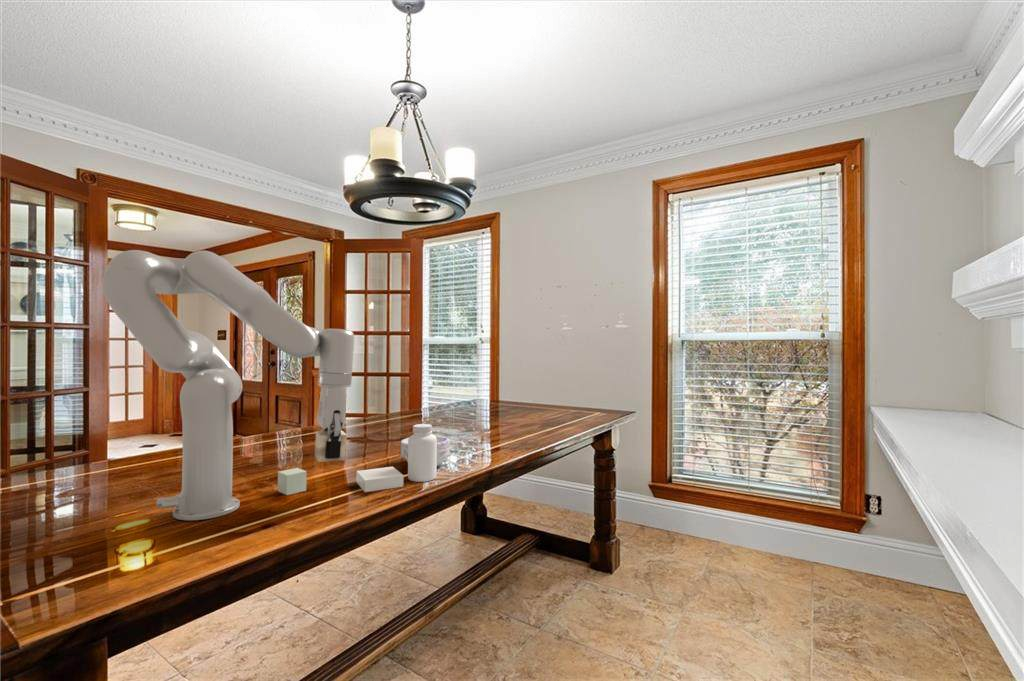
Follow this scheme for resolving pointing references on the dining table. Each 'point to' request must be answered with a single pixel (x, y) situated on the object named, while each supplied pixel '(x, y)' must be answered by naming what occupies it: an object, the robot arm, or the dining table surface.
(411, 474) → the pill bottle
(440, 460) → the paper bowls
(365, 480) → the plinth
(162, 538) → the dining table surface
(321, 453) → the maple cube
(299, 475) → the sage cube
